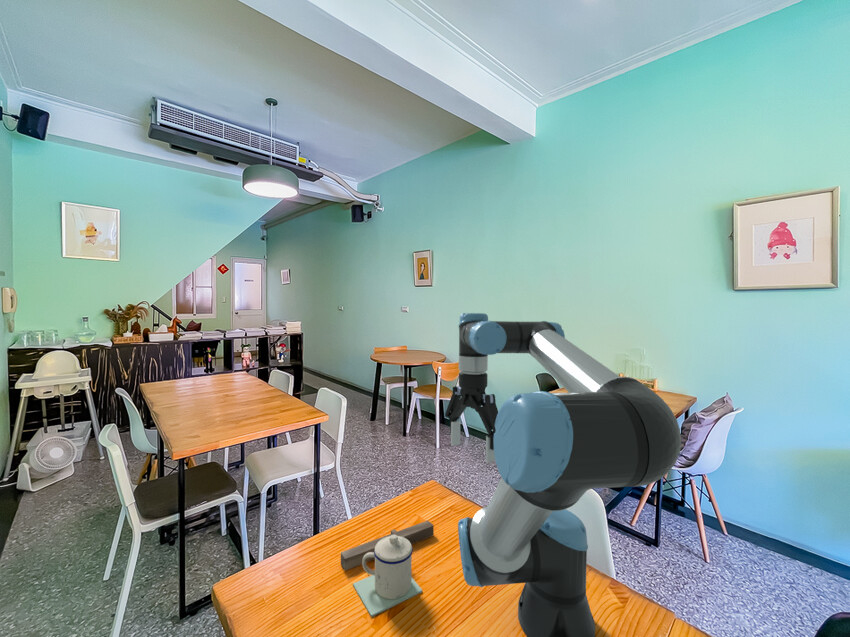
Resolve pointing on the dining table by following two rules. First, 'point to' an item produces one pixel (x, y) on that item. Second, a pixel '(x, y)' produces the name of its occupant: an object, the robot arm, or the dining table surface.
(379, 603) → the mat
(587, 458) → the robot arm
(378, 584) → the teacup with lid
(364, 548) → the grey long bar
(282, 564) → the dining table surface
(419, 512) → the dining table surface
